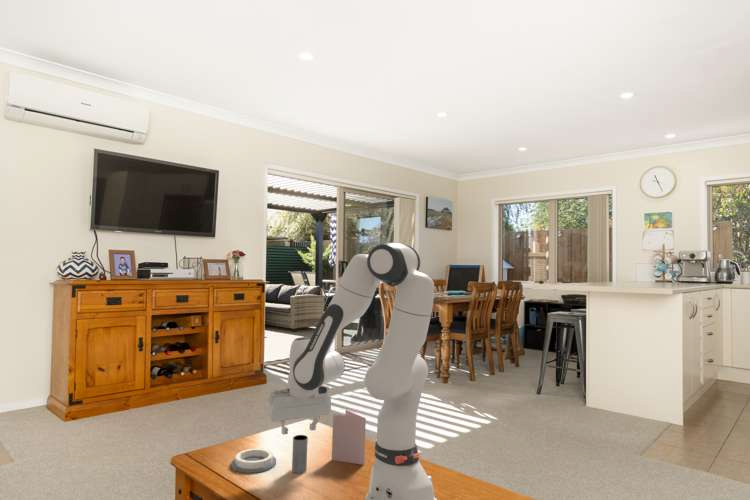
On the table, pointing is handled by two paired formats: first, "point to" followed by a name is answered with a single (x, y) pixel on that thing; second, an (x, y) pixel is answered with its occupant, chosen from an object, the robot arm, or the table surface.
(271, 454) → the ring dish
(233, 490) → the table surface
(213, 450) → the table surface
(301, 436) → the grey cylinder
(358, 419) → the greeting card
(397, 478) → the robot arm
